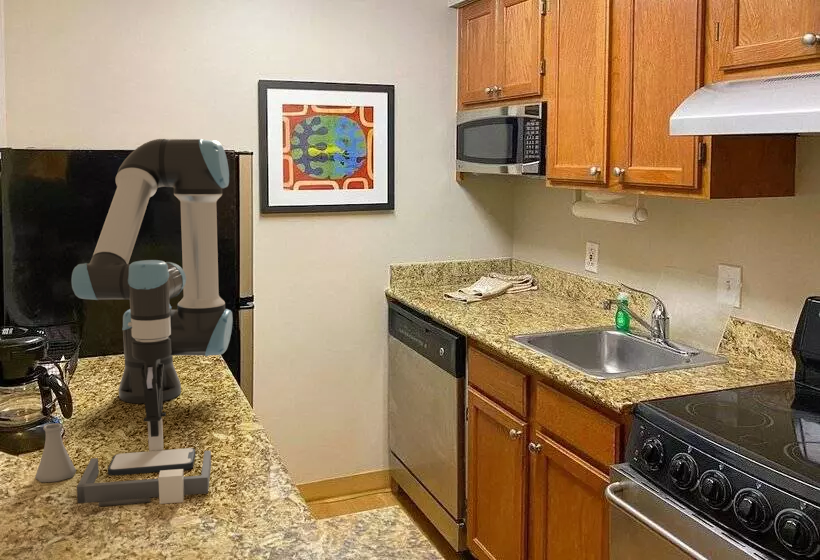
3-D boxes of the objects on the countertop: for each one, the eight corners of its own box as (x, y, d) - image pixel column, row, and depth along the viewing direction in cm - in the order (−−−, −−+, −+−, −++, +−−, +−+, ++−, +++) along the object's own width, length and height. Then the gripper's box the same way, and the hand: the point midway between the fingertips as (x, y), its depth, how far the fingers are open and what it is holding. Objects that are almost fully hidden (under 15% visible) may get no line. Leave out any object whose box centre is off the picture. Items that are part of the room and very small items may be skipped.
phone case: (106, 478, 148) (192, 471, 151) (106, 470, 147) (192, 463, 151) (114, 460, 156) (196, 454, 159) (114, 453, 156) (195, 446, 159)
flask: (35, 486, 143) (32, 435, 141) (34, 472, 149) (30, 422, 148) (78, 479, 146) (74, 429, 145) (74, 465, 152) (71, 417, 151)
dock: (92, 473, 149) (90, 448, 148) (211, 464, 153) (210, 440, 153) (74, 510, 133) (72, 483, 132) (207, 500, 138) (206, 473, 137)
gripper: (136, 331, 160) (141, 439, 164) (126, 346, 147) (132, 462, 151) (173, 329, 161) (177, 436, 165) (167, 344, 149) (172, 460, 153)
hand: (156, 449), depth 158 cm, fingers closed
